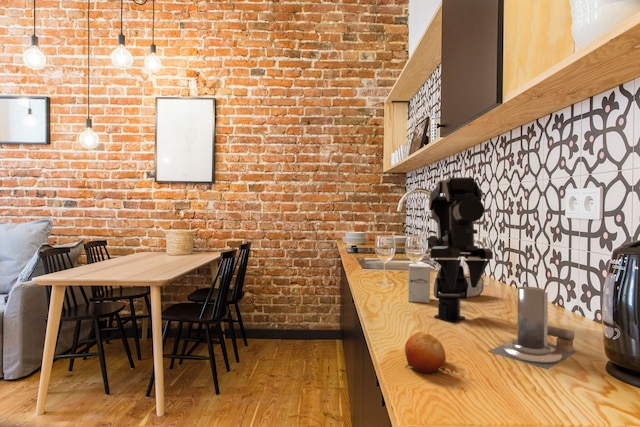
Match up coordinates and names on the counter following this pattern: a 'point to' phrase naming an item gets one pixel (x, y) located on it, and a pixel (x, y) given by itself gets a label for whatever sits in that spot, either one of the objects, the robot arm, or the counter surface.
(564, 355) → the board
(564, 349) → the bar handle
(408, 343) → the fruit
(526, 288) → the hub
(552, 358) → the flange disc
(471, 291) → the tin
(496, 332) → the counter surface
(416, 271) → the supplement box
